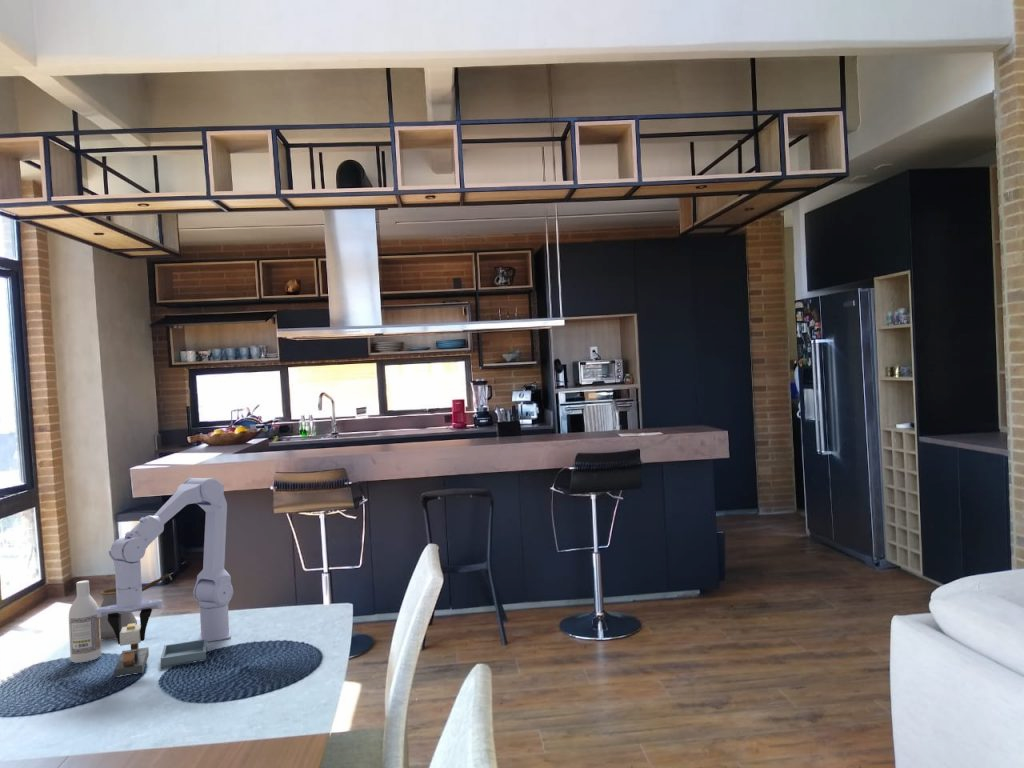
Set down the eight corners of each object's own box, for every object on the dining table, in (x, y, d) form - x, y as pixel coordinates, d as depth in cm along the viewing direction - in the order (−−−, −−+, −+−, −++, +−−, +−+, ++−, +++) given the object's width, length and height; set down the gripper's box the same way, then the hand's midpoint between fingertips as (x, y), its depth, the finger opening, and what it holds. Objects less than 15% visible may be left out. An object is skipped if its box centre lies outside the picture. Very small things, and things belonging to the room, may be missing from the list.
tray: (164, 654, 198) (164, 645, 198) (207, 648, 201) (206, 639, 202) (161, 668, 187) (160, 658, 187) (205, 661, 191) (205, 651, 191)
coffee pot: (94, 645, 209) (92, 590, 210) (89, 635, 219) (87, 583, 219) (178, 628, 222) (175, 576, 222) (170, 620, 231) (167, 570, 231)
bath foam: (104, 659, 197) (100, 581, 197) (73, 666, 192) (69, 586, 193) (98, 653, 202) (95, 577, 203) (68, 659, 198) (65, 582, 198)
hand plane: (122, 658, 196) (121, 635, 196) (148, 654, 198) (147, 631, 198) (114, 678, 182) (113, 652, 182) (142, 673, 184) (141, 648, 184)
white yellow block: (123, 638, 192) (122, 624, 192) (142, 636, 194) (141, 621, 194) (120, 645, 187) (119, 630, 187) (140, 642, 188) (139, 627, 188)
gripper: (93, 594, 184) (96, 651, 184) (159, 586, 189) (162, 641, 189) (98, 588, 191) (100, 642, 191) (161, 580, 196) (164, 633, 196)
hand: (131, 641), depth 190 cm, fingers closed on white yellow block, 4 cm apart
